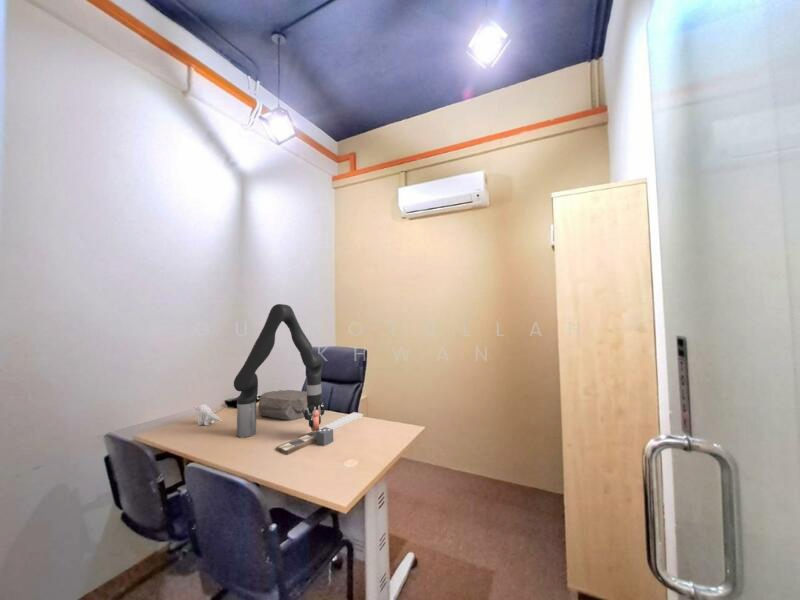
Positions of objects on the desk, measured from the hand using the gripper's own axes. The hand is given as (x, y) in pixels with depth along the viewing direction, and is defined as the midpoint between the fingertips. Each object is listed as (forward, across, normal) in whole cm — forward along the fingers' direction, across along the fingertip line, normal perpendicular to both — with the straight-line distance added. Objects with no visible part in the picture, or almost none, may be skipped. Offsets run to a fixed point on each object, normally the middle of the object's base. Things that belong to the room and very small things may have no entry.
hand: (314, 425), depth 158 cm
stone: (+6, -14, -45) cm, 48 cm away
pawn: (+2, 0, 0) cm, 2 cm away
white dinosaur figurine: (+6, +22, -69) cm, 73 cm away
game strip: (+6, +8, 0) cm, 10 cm away
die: (+6, +1, +9) cm, 11 cm away
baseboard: (+7, -22, -4) cm, 24 cm away
